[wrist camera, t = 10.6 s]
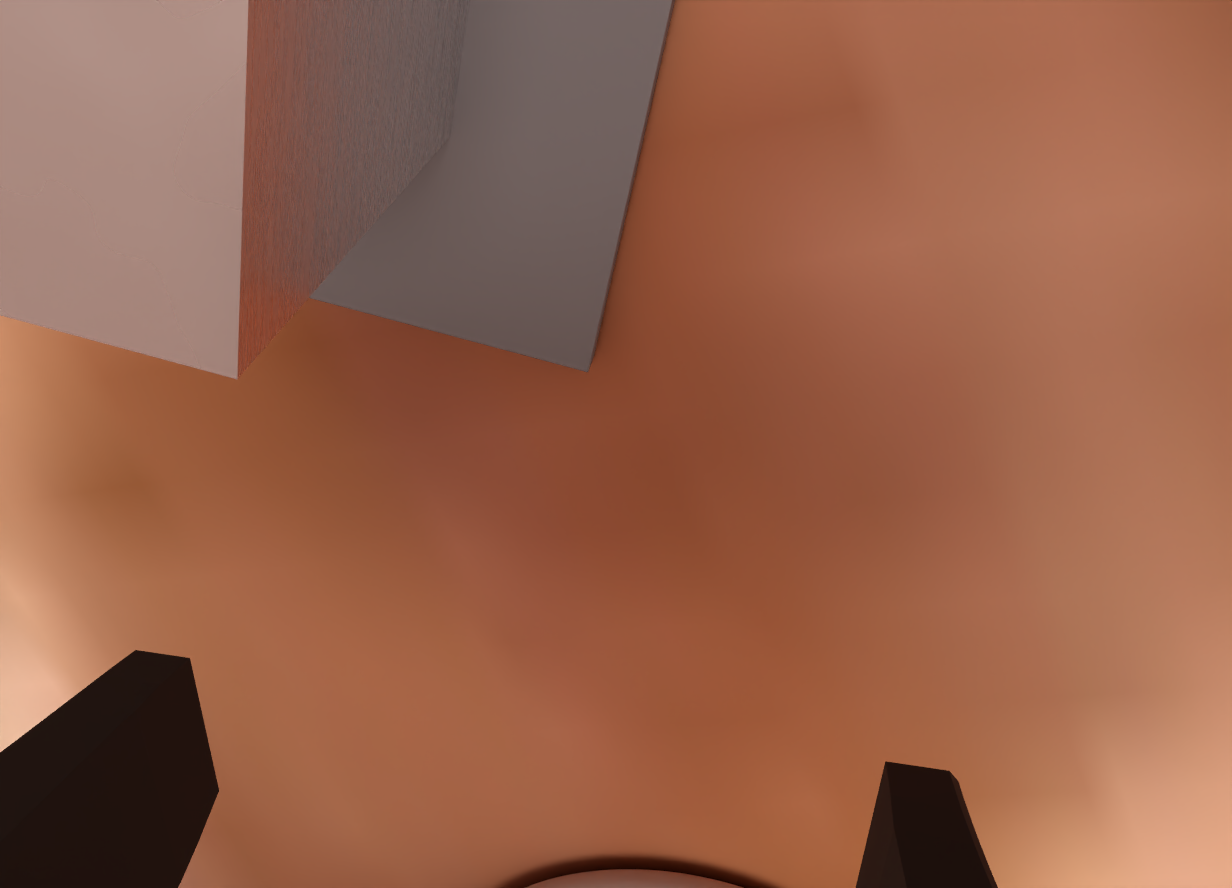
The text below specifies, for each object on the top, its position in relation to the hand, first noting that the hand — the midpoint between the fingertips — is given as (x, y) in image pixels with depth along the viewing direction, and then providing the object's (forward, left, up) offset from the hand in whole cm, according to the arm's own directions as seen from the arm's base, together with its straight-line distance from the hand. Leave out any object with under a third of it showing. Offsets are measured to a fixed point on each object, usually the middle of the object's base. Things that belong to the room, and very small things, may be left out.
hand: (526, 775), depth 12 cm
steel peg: (+6, -5, -10) cm, 12 cm away
